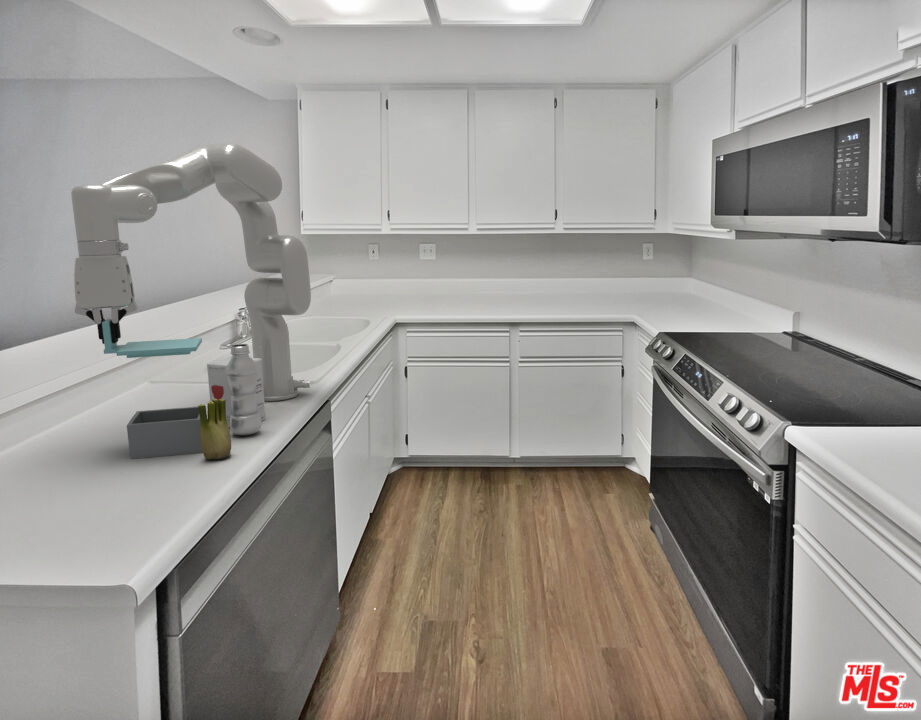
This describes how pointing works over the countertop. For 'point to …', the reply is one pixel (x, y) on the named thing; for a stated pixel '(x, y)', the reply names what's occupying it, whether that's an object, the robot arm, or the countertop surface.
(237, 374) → the plastic bottle
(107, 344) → the lid
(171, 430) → the tub
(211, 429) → the fennel bulb
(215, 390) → the supplement box
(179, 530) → the countertop surface
